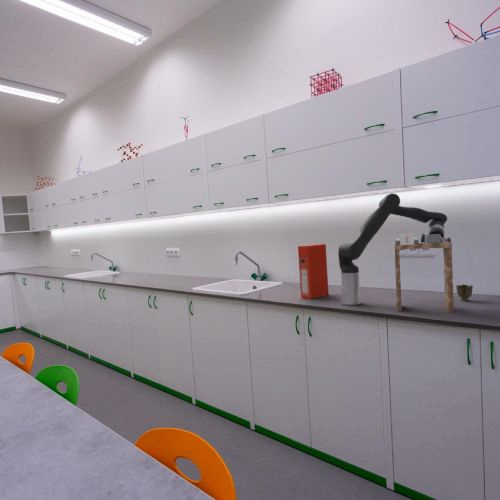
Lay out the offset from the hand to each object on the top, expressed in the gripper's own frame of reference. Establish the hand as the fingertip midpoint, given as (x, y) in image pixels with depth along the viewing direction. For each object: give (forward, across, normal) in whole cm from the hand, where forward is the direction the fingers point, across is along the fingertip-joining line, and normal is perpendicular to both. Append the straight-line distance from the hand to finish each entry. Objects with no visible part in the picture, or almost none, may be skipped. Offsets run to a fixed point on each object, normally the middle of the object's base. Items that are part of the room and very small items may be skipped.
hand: (434, 246), depth 186 cm
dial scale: (+18, -13, -8) cm, 23 cm away
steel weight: (+11, -2, -7) cm, 13 cm away
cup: (+6, +19, +26) cm, 33 cm away
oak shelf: (+29, 0, +20) cm, 35 cm away
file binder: (+12, -60, +41) cm, 74 cm away
